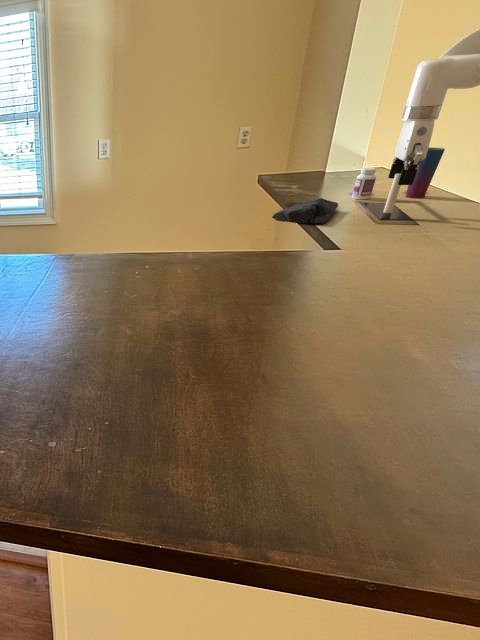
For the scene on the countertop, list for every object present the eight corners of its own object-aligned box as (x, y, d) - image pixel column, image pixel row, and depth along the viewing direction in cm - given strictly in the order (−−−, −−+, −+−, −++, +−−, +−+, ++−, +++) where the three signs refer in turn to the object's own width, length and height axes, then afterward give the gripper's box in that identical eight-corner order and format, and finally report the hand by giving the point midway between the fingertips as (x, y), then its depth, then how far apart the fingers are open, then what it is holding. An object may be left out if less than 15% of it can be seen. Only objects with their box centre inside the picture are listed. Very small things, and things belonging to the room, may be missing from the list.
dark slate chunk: (345, 211, 152) (350, 195, 150) (323, 226, 139) (328, 210, 137) (293, 206, 162) (296, 191, 159) (268, 220, 149) (271, 204, 147)
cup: (431, 196, 161) (448, 148, 153) (422, 199, 158) (440, 150, 150) (406, 193, 166) (422, 147, 158) (398, 197, 163) (414, 149, 155)
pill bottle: (371, 197, 165) (380, 167, 160) (368, 200, 162) (377, 170, 157) (352, 196, 168) (360, 166, 164) (349, 199, 165) (358, 169, 160)
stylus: (388, 216, 140) (403, 173, 134) (390, 218, 138) (405, 174, 132) (380, 216, 140) (394, 173, 134) (382, 218, 139) (396, 174, 133)
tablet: (416, 205, 152) (418, 202, 151) (444, 225, 133) (446, 221, 132) (357, 205, 157) (358, 201, 157) (375, 223, 138) (376, 219, 138)
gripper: (451, 115, 118) (426, 187, 126) (427, 110, 131) (406, 175, 140) (413, 117, 120) (391, 187, 129) (394, 112, 134) (376, 176, 142)
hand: (399, 181), depth 134 cm, fingers open, 9 cm apart
